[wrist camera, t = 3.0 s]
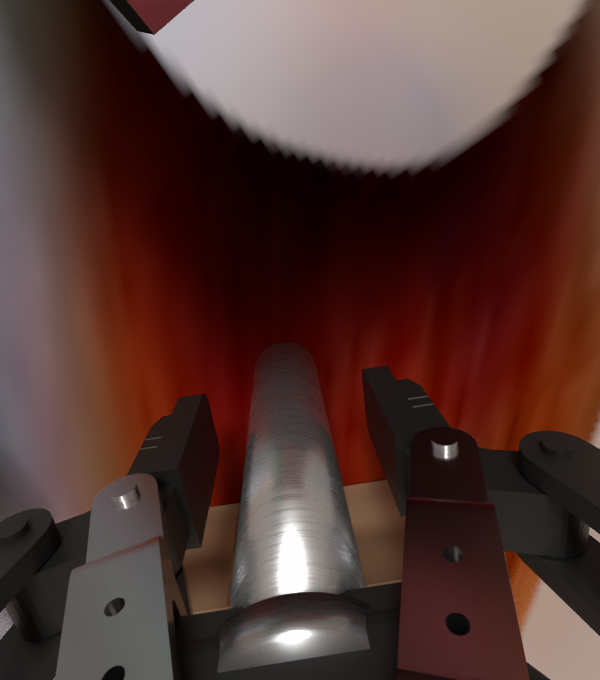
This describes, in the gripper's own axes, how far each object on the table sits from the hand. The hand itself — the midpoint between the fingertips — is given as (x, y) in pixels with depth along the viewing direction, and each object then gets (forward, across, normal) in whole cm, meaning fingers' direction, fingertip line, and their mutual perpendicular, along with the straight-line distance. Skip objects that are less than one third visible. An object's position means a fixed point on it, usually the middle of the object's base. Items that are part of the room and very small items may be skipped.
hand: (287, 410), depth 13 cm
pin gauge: (+3, 0, 0) cm, 3 cm away
